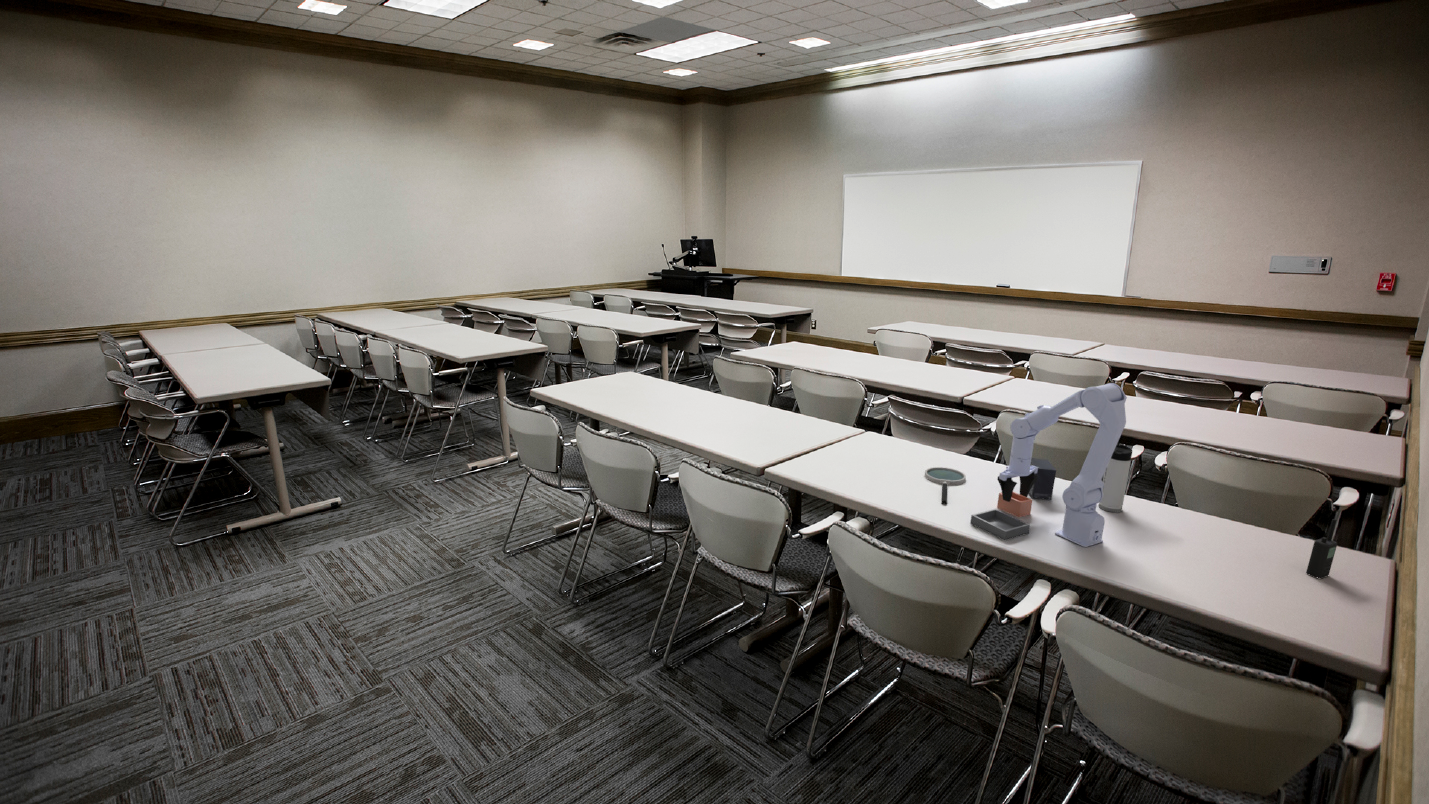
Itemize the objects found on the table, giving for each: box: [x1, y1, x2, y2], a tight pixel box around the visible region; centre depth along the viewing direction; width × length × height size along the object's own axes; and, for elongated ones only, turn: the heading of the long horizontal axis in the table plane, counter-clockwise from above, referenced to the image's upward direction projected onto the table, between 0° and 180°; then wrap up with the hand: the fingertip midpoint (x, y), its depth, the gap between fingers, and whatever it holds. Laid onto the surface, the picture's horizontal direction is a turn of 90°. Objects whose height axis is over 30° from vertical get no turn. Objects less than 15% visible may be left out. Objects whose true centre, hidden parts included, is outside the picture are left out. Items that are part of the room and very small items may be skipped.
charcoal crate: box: [970, 508, 1031, 541], centre depth 193 cm, size 12×10×3 cm
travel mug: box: [1098, 443, 1133, 513], centre depth 205 cm, size 6×7×20 cm
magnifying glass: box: [924, 466, 966, 505], centre depth 224 cm, size 13×31×2 cm, turn 161°
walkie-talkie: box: [1305, 518, 1338, 579], centre depth 168 cm, size 5×3×15 cm
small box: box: [1028, 457, 1057, 501], centre depth 217 cm, size 11×6×10 cm, turn 168°
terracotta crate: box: [996, 491, 1033, 518], centre depth 205 cm, size 8×5×5 cm, turn 28°
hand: (1014, 498), depth 204 cm, fingers open, 7 cm apart
